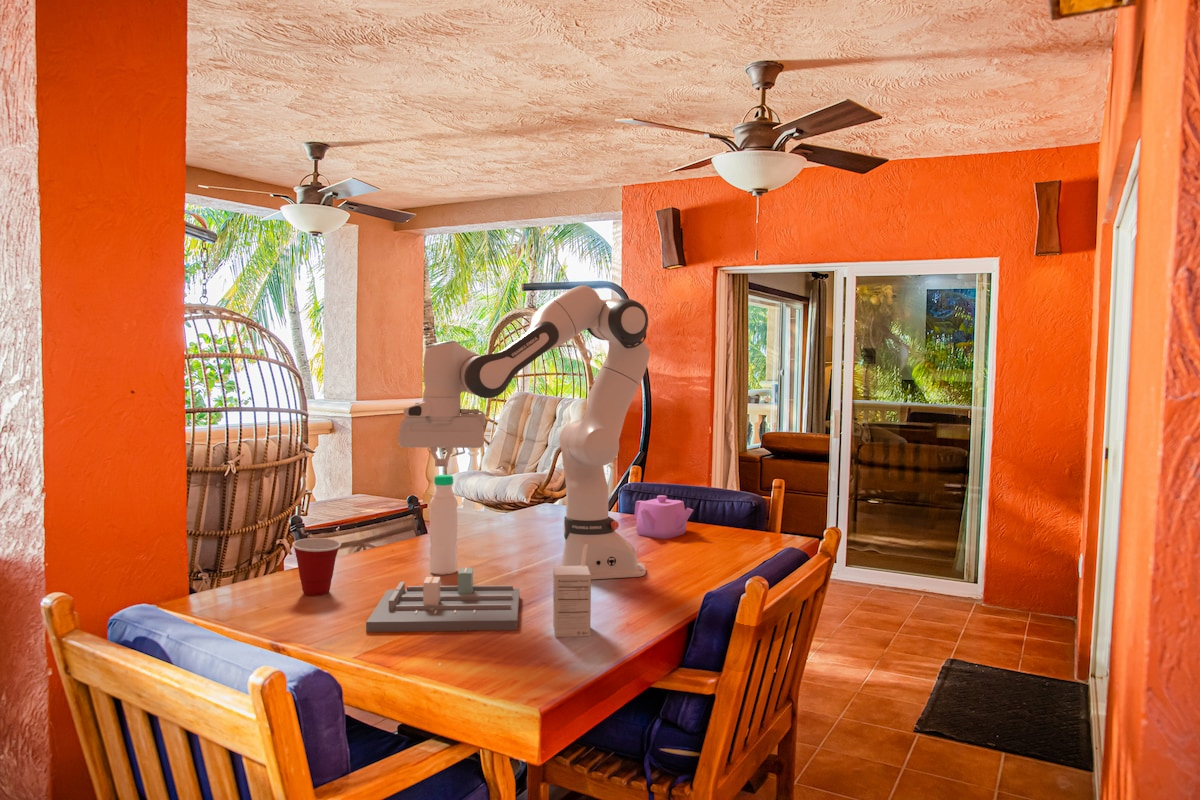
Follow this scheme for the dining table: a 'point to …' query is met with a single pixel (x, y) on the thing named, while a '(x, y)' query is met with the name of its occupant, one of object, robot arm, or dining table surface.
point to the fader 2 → (465, 581)
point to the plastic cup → (316, 564)
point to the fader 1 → (431, 591)
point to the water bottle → (443, 527)
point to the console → (446, 610)
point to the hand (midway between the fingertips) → (441, 466)
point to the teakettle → (661, 517)
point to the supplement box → (571, 601)
